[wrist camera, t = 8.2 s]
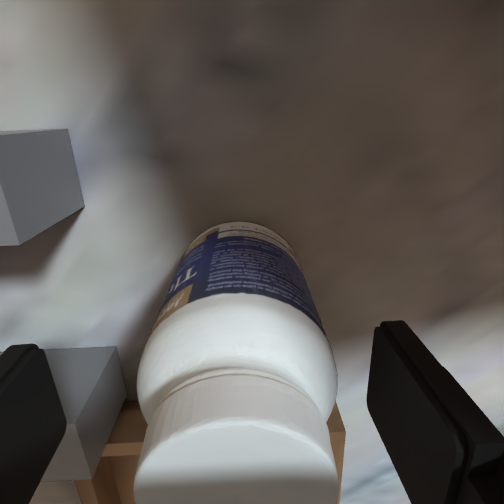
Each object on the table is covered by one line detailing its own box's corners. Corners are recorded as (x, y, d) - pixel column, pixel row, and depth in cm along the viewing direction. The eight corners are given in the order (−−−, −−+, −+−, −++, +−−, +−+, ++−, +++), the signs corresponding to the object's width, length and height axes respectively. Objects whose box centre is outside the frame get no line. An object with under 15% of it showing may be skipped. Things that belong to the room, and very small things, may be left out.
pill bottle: (186, 208, 14) (92, 370, 5) (310, 229, 15) (417, 409, 6) (174, 318, 16) (90, 571, 7) (284, 333, 17) (334, 588, 8)
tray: (332, 391, 18) (345, 431, 16) (322, 541, 23) (331, 589, 21) (85, 403, 18) (62, 446, 16) (127, 552, 23) (115, 601, 21)
